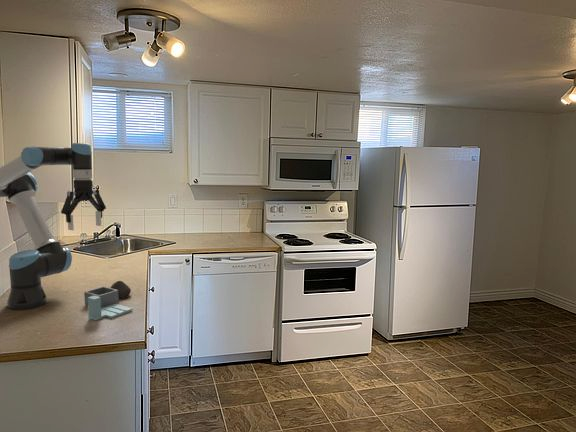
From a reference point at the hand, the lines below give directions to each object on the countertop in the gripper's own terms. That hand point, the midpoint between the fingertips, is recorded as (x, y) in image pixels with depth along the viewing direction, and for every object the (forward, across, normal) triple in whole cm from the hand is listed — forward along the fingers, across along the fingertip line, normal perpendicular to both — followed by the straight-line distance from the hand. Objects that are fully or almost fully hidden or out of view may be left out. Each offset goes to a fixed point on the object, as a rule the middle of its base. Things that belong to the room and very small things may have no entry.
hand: (85, 227), depth 195 cm
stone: (+35, +14, -3) cm, 38 cm away
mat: (+35, -1, -18) cm, 39 cm away
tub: (+35, +3, -5) cm, 35 cm away
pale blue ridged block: (+34, -4, -18) cm, 39 cm away
